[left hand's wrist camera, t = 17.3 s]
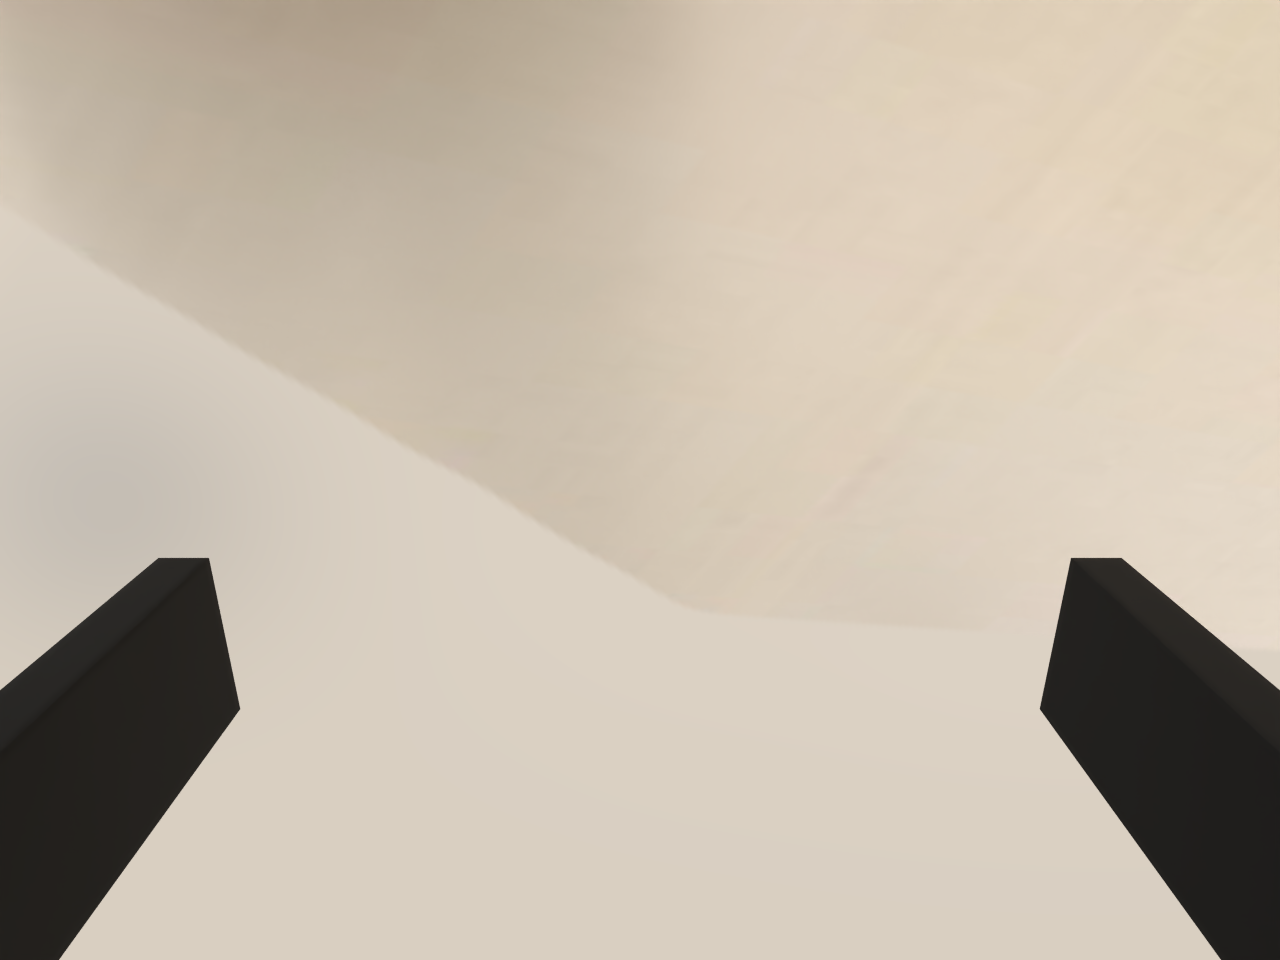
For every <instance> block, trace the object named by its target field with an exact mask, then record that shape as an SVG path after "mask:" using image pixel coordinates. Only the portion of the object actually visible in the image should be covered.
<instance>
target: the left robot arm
mask: <svg viewBox="0 0 1280 960" xmlns="http://www.w3.org/2000/svg"><path fill="white" fill-rule="evenodd" d="M239 710H240V706H239V701H238V696H237V691H236V687H235V682H234V677H233V672H232V667H231V662H230V658H229V653H228V648H227V643H226V638H225V634H224V629H223V624H222V619H221V614H220V609H219V605H218V600H217V595H216V590H215V585H214V580H213V576H212V571H211V566H210V561H209V558H158V559H157V560H156V561H154V562H153V563H152V564H151V565H150V566H148V567H147V568H146V569H145V570H144V571H143V572H141V573H140V574H139V575H138V576H136V577H135V578H134V579H133V580H132V581H130V582H129V583H128V584H127V585H126V586H124V587H123V588H122V589H121V590H120V591H118V592H117V593H116V594H115V595H114V596H113V597H111V598H110V599H109V600H108V601H107V602H105V603H104V604H103V605H102V606H101V607H99V608H98V609H97V610H96V611H95V612H93V613H92V614H91V615H90V616H89V617H87V618H86V619H85V620H84V621H83V622H81V623H80V624H79V625H78V626H77V627H75V628H74V629H73V630H72V631H71V632H69V633H68V634H67V635H66V636H65V637H63V638H62V639H61V640H60V641H59V642H58V643H56V644H55V645H54V646H53V647H51V648H50V649H49V650H48V651H47V652H46V653H44V654H43V655H42V656H41V657H39V658H38V659H37V660H36V661H35V662H34V663H32V664H31V665H30V666H29V667H28V668H26V669H25V670H24V671H23V672H22V673H20V674H19V675H18V676H17V677H16V678H14V679H13V680H12V681H11V682H10V683H8V684H7V685H6V686H5V687H4V688H2V689H1V690H0V960H59V959H60V958H61V956H62V955H63V953H64V952H65V951H66V949H67V948H68V946H69V945H70V944H71V942H72V941H73V940H74V938H75V937H76V935H77V934H78V933H79V931H80V930H81V928H82V927H83V926H84V924H85V923H86V922H87V920H88V919H89V917H90V916H91V915H92V913H93V912H94V910H95V909H96V908H97V906H98V905H99V904H100V902H101V901H102V899H103V898H104V897H105V895H106V894H107V892H108V891H109V890H110V888H111V887H112V886H113V884H114V883H115V881H116V880H117V879H118V877H119V876H120V875H121V873H122V872H123V870H124V869H125V868H126V866H127V865H128V863H129V862H130V861H131V859H132V858H133V857H134V855H135V854H136V852H137V851H138V850H139V848H140V847H141V845H142V844H143V843H144V841H145V840H146V839H147V837H148V836H149V834H150V833H151V832H152V830H153V829H154V827H155V826H156V825H157V823H158V822H159V820H160V819H161V818H162V816H163V815H164V814H165V812H166V811H167V809H168V808H169V807H170V805H171V804H172V803H173V801H174V800H175V798H176V797H177V796H178V794H179V793H180V791H181V790H182V789H183V787H184V786H185V785H186V783H187V782H188V780H189V779H190V778H191V776H192V775H193V774H194V772H195V771H196V769H197V768H198V767H199V765H200V764H201V762H202V761H203V760H204V758H205V757H206V756H207V754H208V753H209V751H210V750H211V749H212V747H213V746H214V744H215V743H216V742H217V740H218V739H219V738H220V736H221V735H222V733H223V732H224V731H225V729H226V728H227V727H228V725H229V724H230V722H231V721H232V720H233V718H234V717H235V715H236V714H237V713H238V711H239ZM1040 710H1041V711H1042V713H1043V714H1044V715H1045V717H1046V718H1047V720H1048V721H1049V722H1050V724H1051V725H1052V727H1053V728H1054V729H1055V731H1056V732H1057V733H1058V735H1059V736H1060V738H1061V739H1062V740H1063V742H1064V743H1065V744H1066V746H1067V747H1068V749H1069V750H1070V751H1071V753H1072V754H1073V756H1074V757H1075V758H1076V760H1077V761H1078V762H1079V764H1080V765H1081V767H1082V768H1083V769H1084V771H1085V772H1086V774H1087V775H1088V776H1089V778H1090V779H1091V780H1092V782H1093V783H1094V785H1095V786H1096V787H1097V789H1098V790H1099V792H1100V793H1101V794H1102V796H1103V797H1104V798H1105V800H1106V801H1107V803H1108V804H1109V805H1110V807H1111V808H1112V810H1113V811H1114V812H1115V814H1116V815H1117V816H1118V818H1119V819H1120V821H1121V822H1122V823H1123V825H1124V826H1125V827H1126V829H1127V830H1128V832H1129V833H1130V834H1131V836H1132V837H1133V839H1134V840H1135V841H1136V843H1137V844H1138V845H1139V847H1140V848H1141V850H1142V851H1143V852H1144V854H1145V855H1146V857H1147V858H1148V859H1149V861H1150V862H1151V863H1152V865H1153V866H1154V868H1155V869H1156V870H1157V872H1158V873H1159V875H1160V876H1161V877H1162V879H1163V880H1164V881H1165V883H1166V884H1167V886H1168V887H1169V888H1170V890H1171V891H1172V893H1173V894H1174V895H1175V897H1176V898H1177V899H1178V901H1179V902H1180V904H1181V905H1182V906H1183V908H1184V909H1185V911H1186V912H1187V913H1188V915H1189V916H1190V917H1191V919H1192V920H1193V922H1194V923H1195V924H1196V926H1197V927H1198V928H1199V930H1200V931H1201V933H1202V934H1203V935H1204V937H1205V938H1206V940H1207V941H1208V942H1209V944H1210V945H1211V946H1212V948H1213V949H1214V951H1215V952H1216V953H1217V955H1218V956H1219V958H1220V959H1221V960H1280V690H1279V689H1277V688H1276V687H1275V686H1274V685H1273V684H1272V683H1270V682H1269V681H1268V680H1267V679H1266V678H1264V677H1263V676H1262V675H1261V674H1260V673H1258V672H1257V671H1256V670H1255V669H1254V668H1252V667H1251V666H1250V665H1249V664H1248V663H1246V662H1245V661H1244V660H1243V659H1242V658H1241V657H1239V656H1238V655H1237V654H1236V653H1235V652H1233V651H1232V650H1231V649H1230V648H1229V647H1227V646H1226V645H1225V644H1224V643H1223V642H1221V641H1220V640H1219V639H1218V638H1217V637H1215V636H1214V635H1213V634H1212V633H1211V632H1209V631H1208V630H1207V629H1206V628H1205V627H1203V626H1202V625H1201V624H1200V623H1199V622H1197V621H1196V620H1195V619H1194V618H1193V617H1191V616H1190V615H1189V614H1188V613H1187V612H1185V611H1184V610H1183V609H1182V608H1181V607H1179V606H1178V605H1177V604H1176V603H1175V602H1173V601H1172V600H1171V599H1170V598H1169V597H1167V596H1166V595H1165V594H1164V593H1163V592H1162V591H1160V590H1159V589H1158V588H1157V587H1156V586H1154V585H1153V584H1152V583H1151V582H1150V581H1148V580H1147V579H1146V578H1145V577H1144V576H1142V575H1141V574H1140V573H1139V572H1138V571H1136V570H1135V569H1134V568H1133V567H1132V566H1130V565H1129V564H1128V563H1127V562H1126V561H1124V560H1123V559H1122V558H1071V561H1070V566H1069V571H1068V576H1067V580H1066V585H1065V590H1064V595H1063V600H1062V605H1061V609H1060V614H1059V619H1058V624H1057V629H1056V633H1055V638H1054V643H1053V648H1052V653H1051V658H1050V662H1049V667H1048V672H1047V677H1046V682H1045V687H1044V691H1043V696H1042V701H1041V706H1040Z"/></svg>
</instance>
